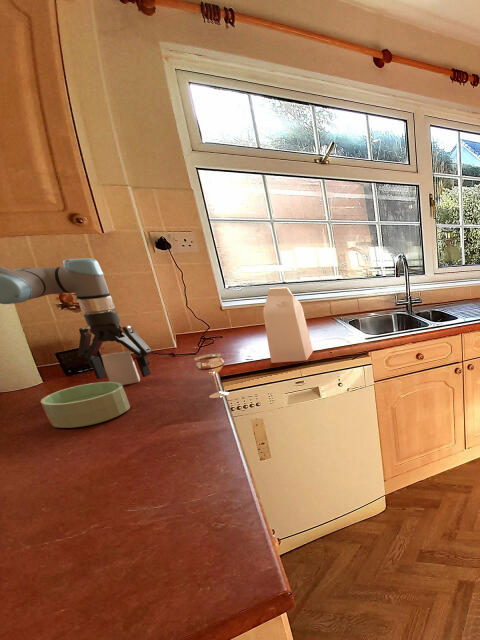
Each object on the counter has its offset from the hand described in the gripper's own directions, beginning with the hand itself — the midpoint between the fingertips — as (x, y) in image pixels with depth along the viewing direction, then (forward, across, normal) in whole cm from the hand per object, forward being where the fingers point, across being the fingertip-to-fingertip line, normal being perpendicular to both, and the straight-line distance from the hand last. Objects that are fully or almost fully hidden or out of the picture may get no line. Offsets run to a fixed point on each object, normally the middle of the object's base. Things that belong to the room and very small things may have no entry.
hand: (124, 376), depth 136 cm
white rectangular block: (+2, 0, 0) cm, 2 cm away
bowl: (+2, -10, +26) cm, 28 cm away
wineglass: (+2, -36, +14) cm, 39 cm away
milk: (+3, -44, -22) cm, 49 cm away
